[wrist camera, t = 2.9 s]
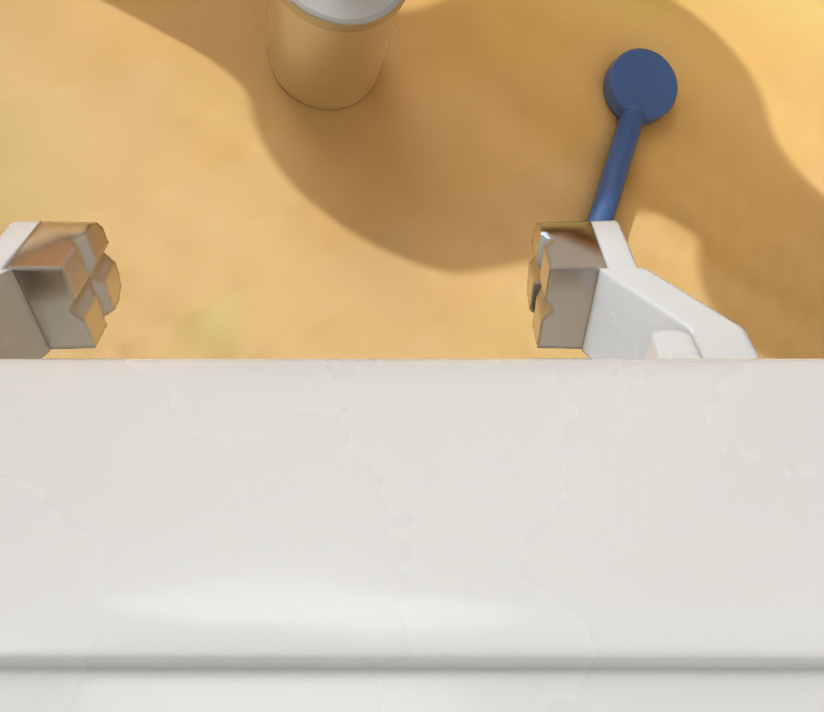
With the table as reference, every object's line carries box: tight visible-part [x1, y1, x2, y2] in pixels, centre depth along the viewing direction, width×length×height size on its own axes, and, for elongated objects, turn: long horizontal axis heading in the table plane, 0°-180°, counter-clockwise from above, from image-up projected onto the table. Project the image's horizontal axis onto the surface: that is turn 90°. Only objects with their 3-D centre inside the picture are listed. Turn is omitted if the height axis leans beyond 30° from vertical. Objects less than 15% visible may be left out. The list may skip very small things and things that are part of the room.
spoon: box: [588, 49, 677, 221], centre depth 41 cm, size 16×4×1 cm, turn 161°
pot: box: [269, 0, 405, 110], centre depth 34 cm, size 7×7×10 cm
